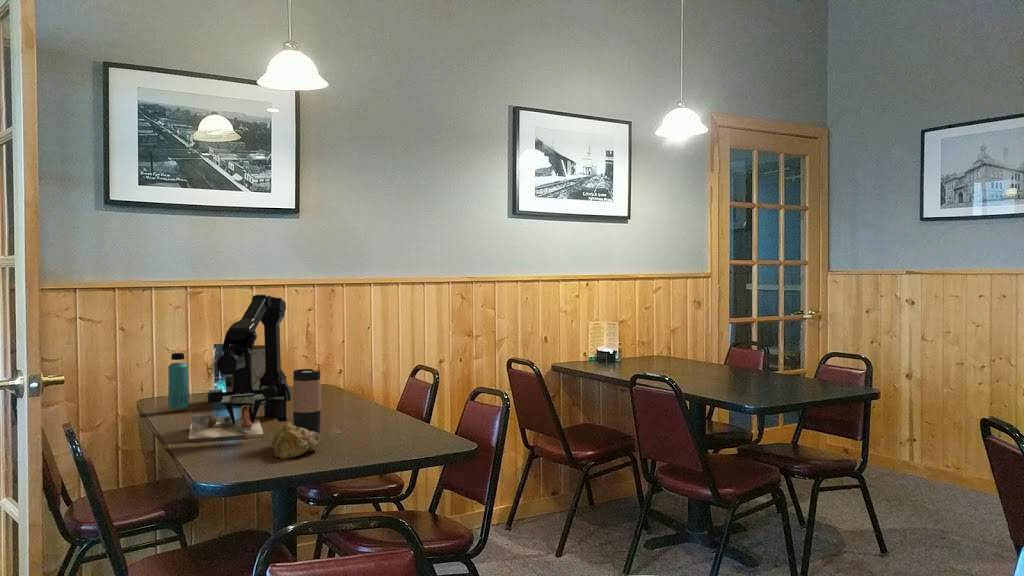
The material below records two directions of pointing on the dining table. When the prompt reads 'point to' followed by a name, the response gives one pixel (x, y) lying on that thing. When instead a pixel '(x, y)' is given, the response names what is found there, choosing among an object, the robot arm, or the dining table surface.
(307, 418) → the travel mug
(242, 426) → the lever
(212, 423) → the walnut
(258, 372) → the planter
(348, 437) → the dining table surface
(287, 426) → the rock
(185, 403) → the beverage bottle
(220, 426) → the base
